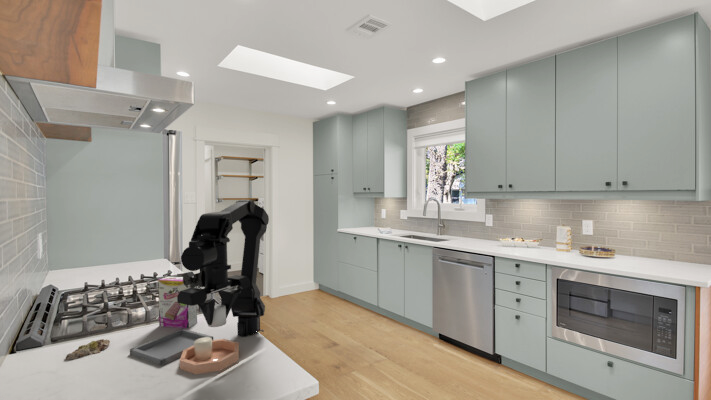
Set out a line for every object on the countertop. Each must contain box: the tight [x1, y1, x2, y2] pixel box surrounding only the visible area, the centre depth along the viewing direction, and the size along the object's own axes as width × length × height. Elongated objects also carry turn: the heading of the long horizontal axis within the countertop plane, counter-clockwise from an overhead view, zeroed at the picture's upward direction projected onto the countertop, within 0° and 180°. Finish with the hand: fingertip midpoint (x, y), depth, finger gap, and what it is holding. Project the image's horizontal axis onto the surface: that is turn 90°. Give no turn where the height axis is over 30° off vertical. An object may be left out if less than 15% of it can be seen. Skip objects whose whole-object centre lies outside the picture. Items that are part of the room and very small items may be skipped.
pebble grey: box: [207, 303, 227, 328], centre depth 92 cm, size 4×4×4 cm
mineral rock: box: [65, 338, 111, 361], centre depth 100 cm, size 11×4×8 cm
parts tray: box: [129, 328, 214, 366], centre depth 101 cm, size 16×14×2 cm
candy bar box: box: [157, 276, 198, 329], centre depth 118 cm, size 11×5×16 cm, turn 79°
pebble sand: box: [194, 337, 213, 361], centre depth 95 cm, size 4×4×4 cm
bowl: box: [179, 338, 240, 375], centre depth 94 cm, size 14×14×3 cm
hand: (217, 321), depth 92 cm, fingers closed on pebble grey, 4 cm apart
